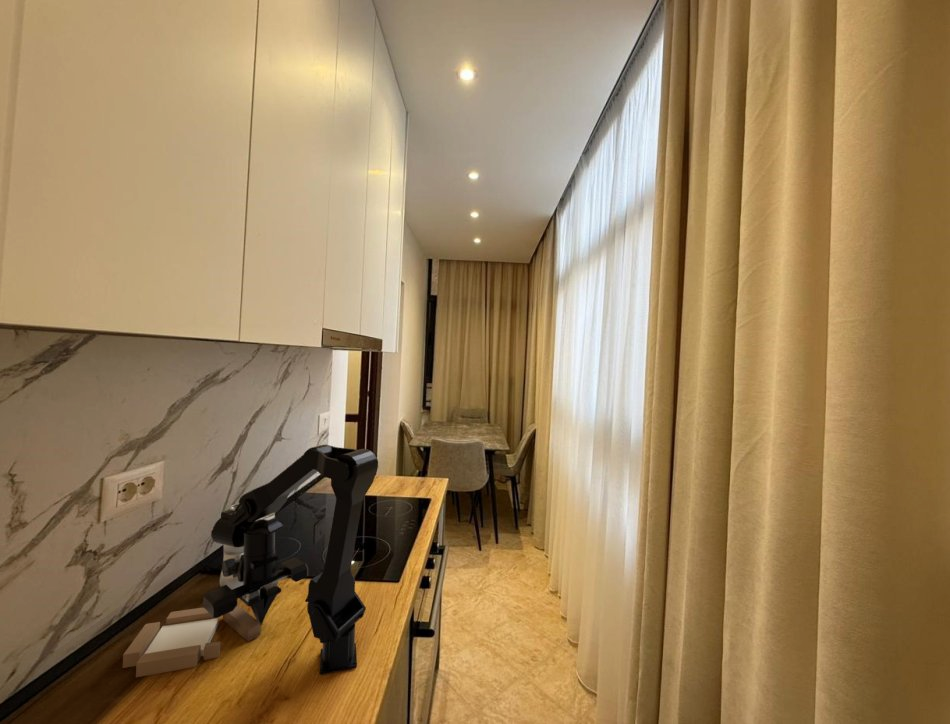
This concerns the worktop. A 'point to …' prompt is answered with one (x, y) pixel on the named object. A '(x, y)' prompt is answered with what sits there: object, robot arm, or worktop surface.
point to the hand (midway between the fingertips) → (259, 624)
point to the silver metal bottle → (235, 553)
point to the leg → (243, 623)
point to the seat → (173, 643)
